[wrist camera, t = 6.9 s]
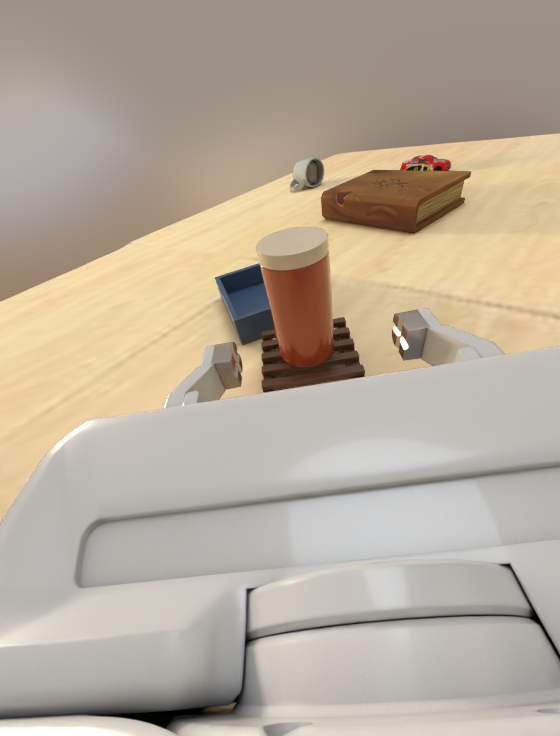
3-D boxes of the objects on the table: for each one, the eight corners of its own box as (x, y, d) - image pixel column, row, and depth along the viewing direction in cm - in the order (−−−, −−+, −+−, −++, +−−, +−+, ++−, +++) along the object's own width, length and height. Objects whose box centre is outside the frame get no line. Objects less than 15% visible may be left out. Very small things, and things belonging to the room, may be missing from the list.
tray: (327, 314, 39) (325, 289, 37) (242, 344, 38) (233, 321, 35) (289, 275, 50) (286, 254, 47) (221, 298, 48) (214, 277, 46)
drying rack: (365, 392, 28) (366, 374, 27) (266, 407, 29) (261, 391, 27) (343, 330, 36) (343, 314, 34) (265, 344, 37) (261, 328, 35)
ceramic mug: (309, 182, 99) (306, 155, 94) (325, 183, 94) (323, 154, 88) (285, 191, 96) (280, 164, 90) (300, 193, 90) (296, 164, 85)
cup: (339, 362, 28) (334, 246, 21) (281, 371, 29) (254, 261, 21) (329, 328, 33) (321, 221, 25) (278, 336, 33) (256, 234, 26)
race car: (452, 169, 80) (456, 151, 77) (445, 174, 77) (449, 156, 75) (405, 171, 87) (407, 155, 85) (397, 176, 85) (399, 159, 82)
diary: (322, 220, 68) (320, 193, 64) (372, 196, 75) (373, 170, 71) (412, 234, 53) (417, 200, 49) (464, 202, 60) (471, 170, 56)
